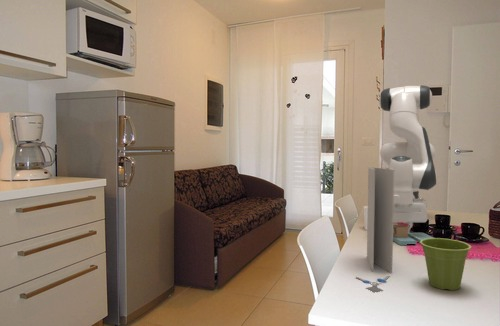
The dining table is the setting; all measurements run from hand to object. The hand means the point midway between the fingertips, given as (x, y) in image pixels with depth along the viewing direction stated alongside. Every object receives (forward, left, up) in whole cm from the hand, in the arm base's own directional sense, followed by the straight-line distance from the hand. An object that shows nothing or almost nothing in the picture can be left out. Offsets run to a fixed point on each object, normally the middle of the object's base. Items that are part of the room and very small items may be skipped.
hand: (399, 233), depth 143 cm
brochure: (+29, -19, -3) cm, 35 cm away
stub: (0, 0, -3) cm, 3 cm away
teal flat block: (0, +9, -3) cm, 10 cm away
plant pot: (+46, -8, -3) cm, 47 cm away
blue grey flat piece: (+43, -26, -3) cm, 51 cm away
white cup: (-19, -4, -3) cm, 20 cm away
